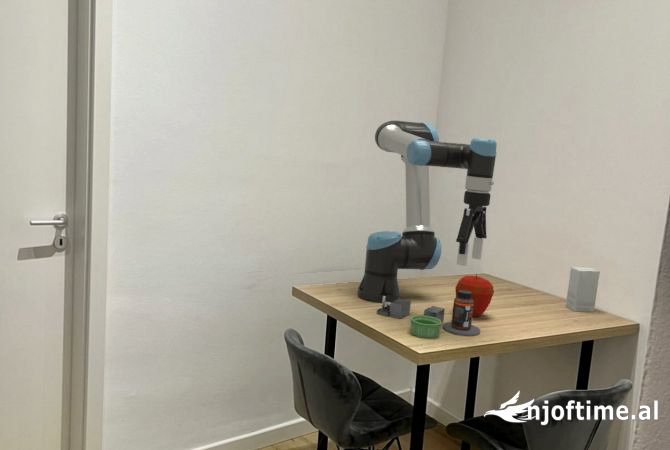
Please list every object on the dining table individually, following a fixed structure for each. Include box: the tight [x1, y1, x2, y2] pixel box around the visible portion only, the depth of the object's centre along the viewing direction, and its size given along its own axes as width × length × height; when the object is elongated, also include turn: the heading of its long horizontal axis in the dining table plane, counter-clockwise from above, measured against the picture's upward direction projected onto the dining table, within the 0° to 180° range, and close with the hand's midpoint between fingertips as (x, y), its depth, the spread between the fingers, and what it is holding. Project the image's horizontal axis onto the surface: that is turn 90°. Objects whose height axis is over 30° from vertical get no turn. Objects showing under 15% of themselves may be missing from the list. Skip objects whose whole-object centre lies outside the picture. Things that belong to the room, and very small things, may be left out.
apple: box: [455, 274, 495, 317], centre depth 197 cm, size 12×12×14 cm
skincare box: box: [565, 266, 601, 313], centre depth 217 cm, size 8×7×16 cm
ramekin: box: [410, 314, 442, 339], centre depth 173 cm, size 9×9×4 cm
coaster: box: [442, 321, 481, 337], centre depth 180 cm, size 11×11×1 cm
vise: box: [376, 296, 446, 324], centre depth 188 cm, size 20×9×5 cm, turn 59°
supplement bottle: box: [450, 290, 474, 330], centre depth 179 cm, size 6×6×11 cm
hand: (469, 261), depth 177 cm, fingers open, 13 cm apart
